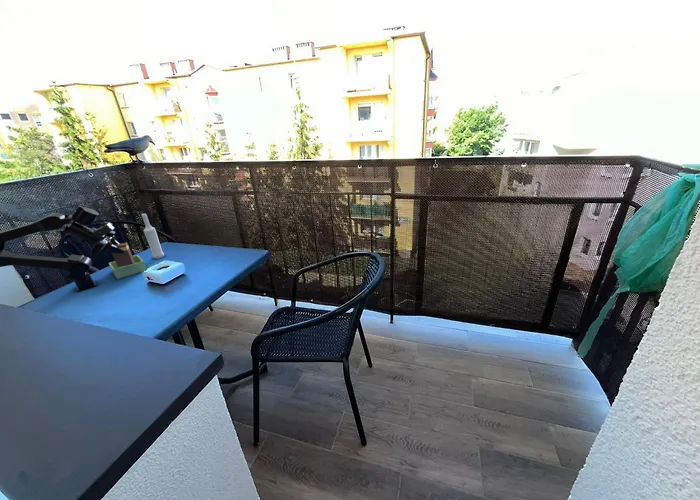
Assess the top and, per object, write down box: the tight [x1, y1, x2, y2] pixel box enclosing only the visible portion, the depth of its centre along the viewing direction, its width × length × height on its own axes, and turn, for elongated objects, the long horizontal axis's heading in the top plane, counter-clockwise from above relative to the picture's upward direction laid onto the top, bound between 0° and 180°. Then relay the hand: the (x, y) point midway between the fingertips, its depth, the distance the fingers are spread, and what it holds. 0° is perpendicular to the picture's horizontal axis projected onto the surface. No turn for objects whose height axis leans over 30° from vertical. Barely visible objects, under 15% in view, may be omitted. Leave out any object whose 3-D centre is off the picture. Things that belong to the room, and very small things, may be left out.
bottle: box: [141, 213, 165, 260], centre depth 147 cm, size 5×5×25 cm
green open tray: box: [108, 254, 147, 280], centre depth 137 cm, size 12×12×5 cm
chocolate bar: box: [111, 242, 134, 267], centre depth 127 cm, size 6×3×10 cm, turn 117°
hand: (124, 251), depth 127 cm, fingers closed on chocolate bar, 3 cm apart
